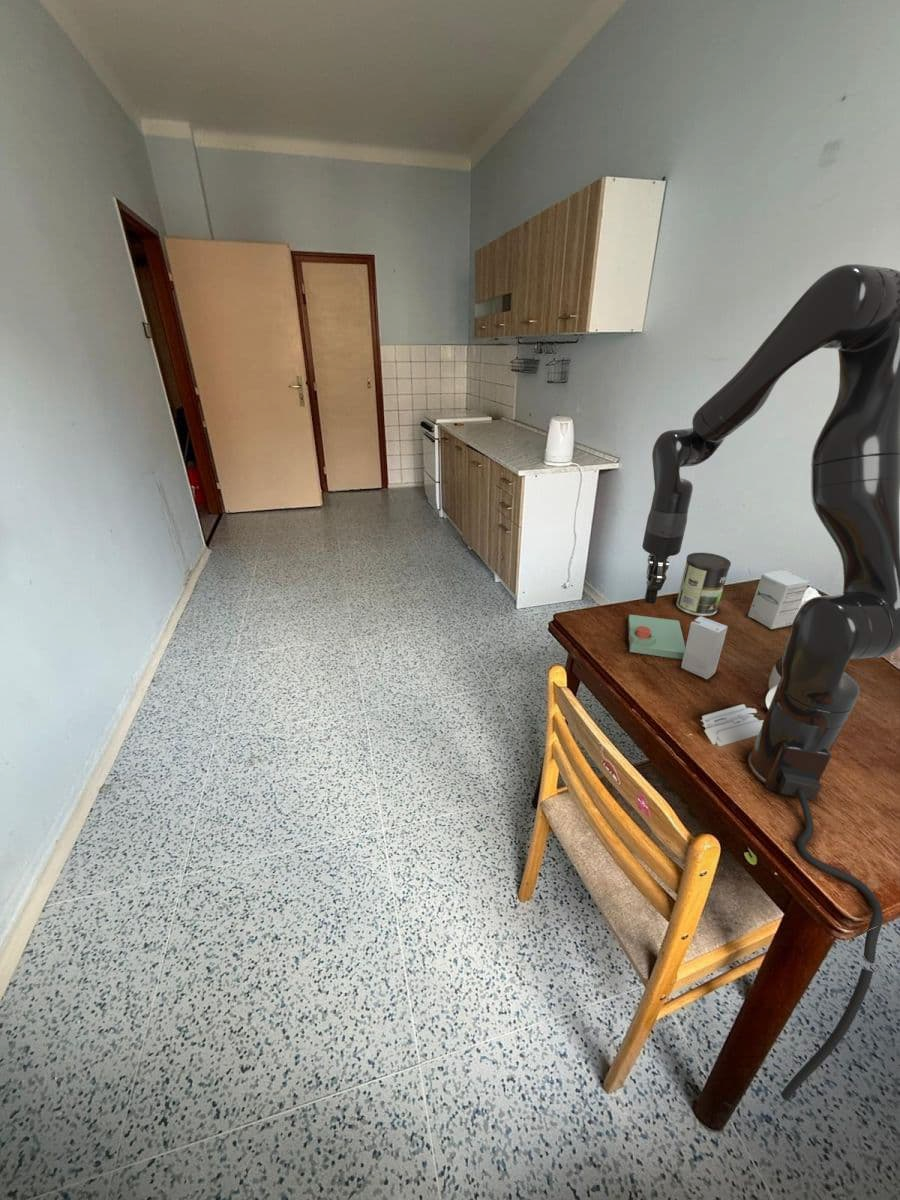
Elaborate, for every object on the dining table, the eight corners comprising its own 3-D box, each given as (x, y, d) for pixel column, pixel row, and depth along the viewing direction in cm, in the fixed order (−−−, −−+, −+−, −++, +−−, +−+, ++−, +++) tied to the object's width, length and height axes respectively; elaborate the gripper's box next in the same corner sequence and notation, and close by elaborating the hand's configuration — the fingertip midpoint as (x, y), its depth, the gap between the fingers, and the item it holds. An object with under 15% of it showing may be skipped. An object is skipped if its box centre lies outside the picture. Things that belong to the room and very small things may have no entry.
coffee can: (718, 603, 130) (732, 556, 124) (715, 620, 123) (729, 570, 116) (678, 595, 135) (689, 549, 128) (672, 610, 127) (684, 562, 121)
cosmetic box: (716, 672, 103) (730, 625, 97) (706, 681, 101) (720, 633, 95) (688, 660, 107) (700, 614, 102) (678, 668, 105) (690, 621, 99)
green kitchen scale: (685, 660, 107) (688, 647, 106) (627, 651, 111) (629, 639, 109) (677, 626, 120) (680, 615, 118) (626, 620, 123) (628, 608, 122)
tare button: (649, 640, 109) (651, 633, 108) (636, 638, 110) (637, 631, 109) (648, 633, 112) (650, 627, 111) (635, 631, 113) (636, 625, 112)
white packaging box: (746, 616, 124) (760, 572, 118) (768, 611, 126) (783, 568, 120) (770, 630, 118) (787, 585, 112) (793, 625, 120) (810, 580, 114)
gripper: (644, 518, 105) (631, 587, 113) (647, 538, 94) (633, 613, 102) (680, 520, 103) (664, 590, 111) (688, 542, 92) (670, 618, 100)
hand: (649, 601), depth 107 cm, fingers closed
